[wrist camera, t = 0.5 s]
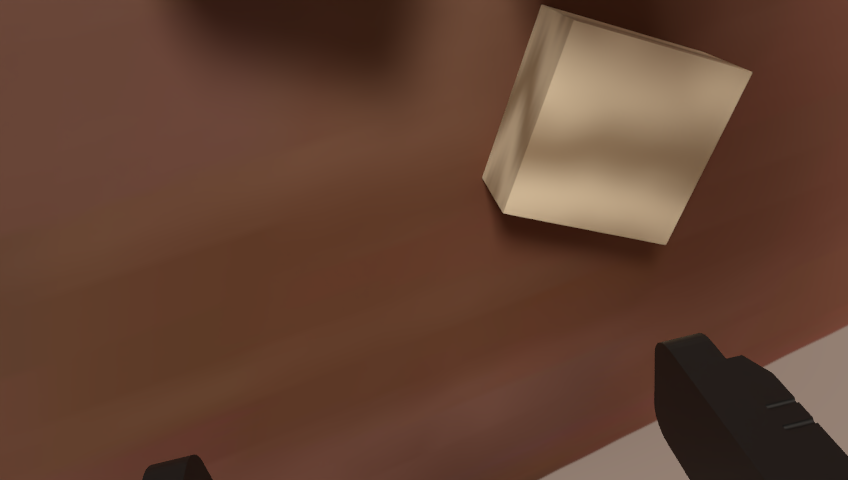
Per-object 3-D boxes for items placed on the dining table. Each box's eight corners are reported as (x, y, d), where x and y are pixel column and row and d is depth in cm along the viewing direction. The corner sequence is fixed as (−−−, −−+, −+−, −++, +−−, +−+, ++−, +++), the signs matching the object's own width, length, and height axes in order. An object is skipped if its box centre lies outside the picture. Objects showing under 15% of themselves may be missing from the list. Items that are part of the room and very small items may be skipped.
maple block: (539, 3, 33) (573, 20, 29) (699, 50, 36) (752, 72, 31) (481, 176, 37) (503, 213, 33) (627, 206, 40) (665, 245, 36)
